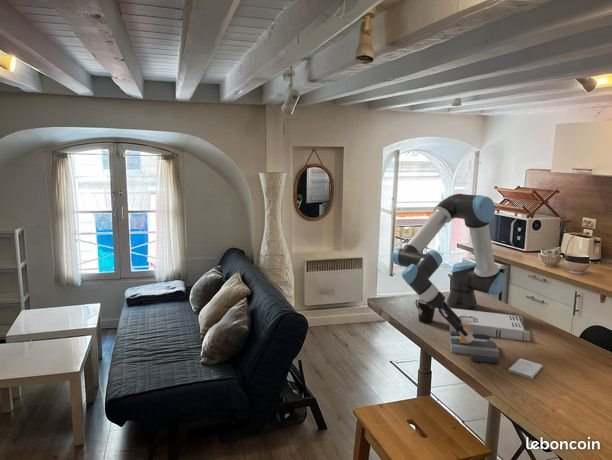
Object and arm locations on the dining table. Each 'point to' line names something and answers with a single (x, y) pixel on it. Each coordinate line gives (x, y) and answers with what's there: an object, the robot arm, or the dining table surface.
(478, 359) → the dark grey capsule rod
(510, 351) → the dining table surface
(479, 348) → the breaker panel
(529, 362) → the external hard drive
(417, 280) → the robot arm
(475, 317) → the power supply unit
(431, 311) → the coffee mug
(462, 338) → the block
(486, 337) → the dark grey rounded rod
